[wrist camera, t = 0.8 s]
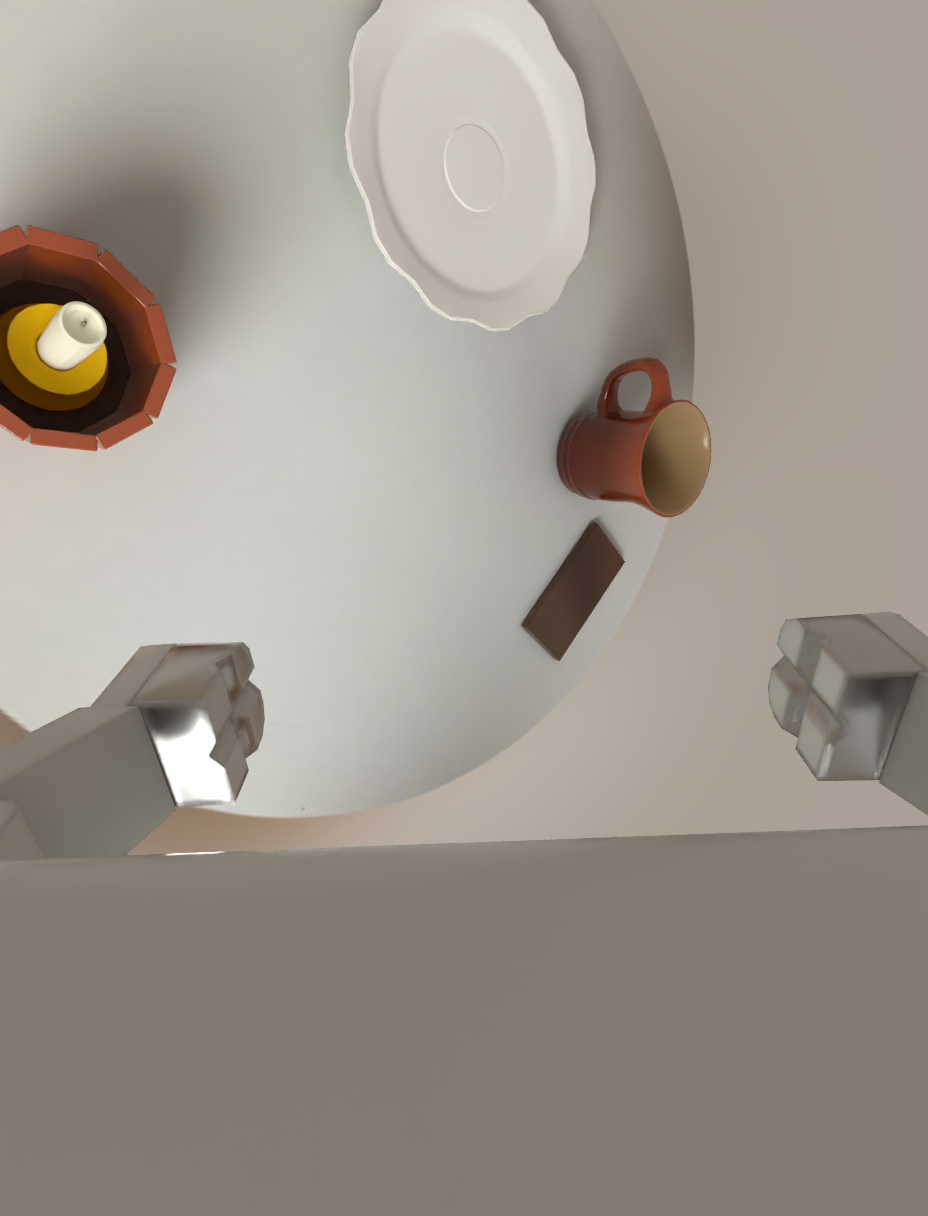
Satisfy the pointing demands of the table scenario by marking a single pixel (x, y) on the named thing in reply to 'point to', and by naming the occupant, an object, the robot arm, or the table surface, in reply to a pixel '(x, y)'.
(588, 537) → the walnut mat
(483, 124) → the plate
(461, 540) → the table surface
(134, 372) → the holder cup
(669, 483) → the mug
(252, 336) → the table surface
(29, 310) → the candle
